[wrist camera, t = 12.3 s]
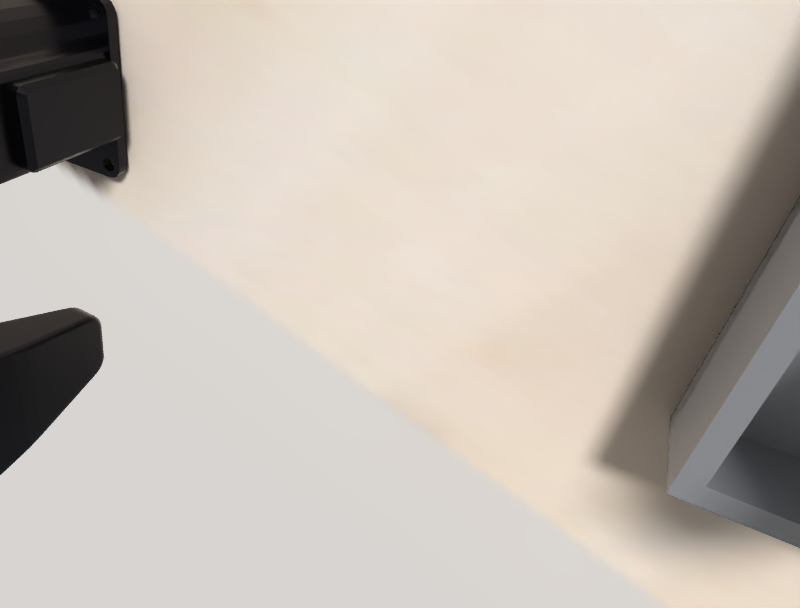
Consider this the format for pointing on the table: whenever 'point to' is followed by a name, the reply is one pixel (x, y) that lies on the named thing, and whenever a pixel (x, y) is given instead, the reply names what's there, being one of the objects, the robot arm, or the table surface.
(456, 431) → the table surface
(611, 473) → the table surface
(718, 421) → the bin
